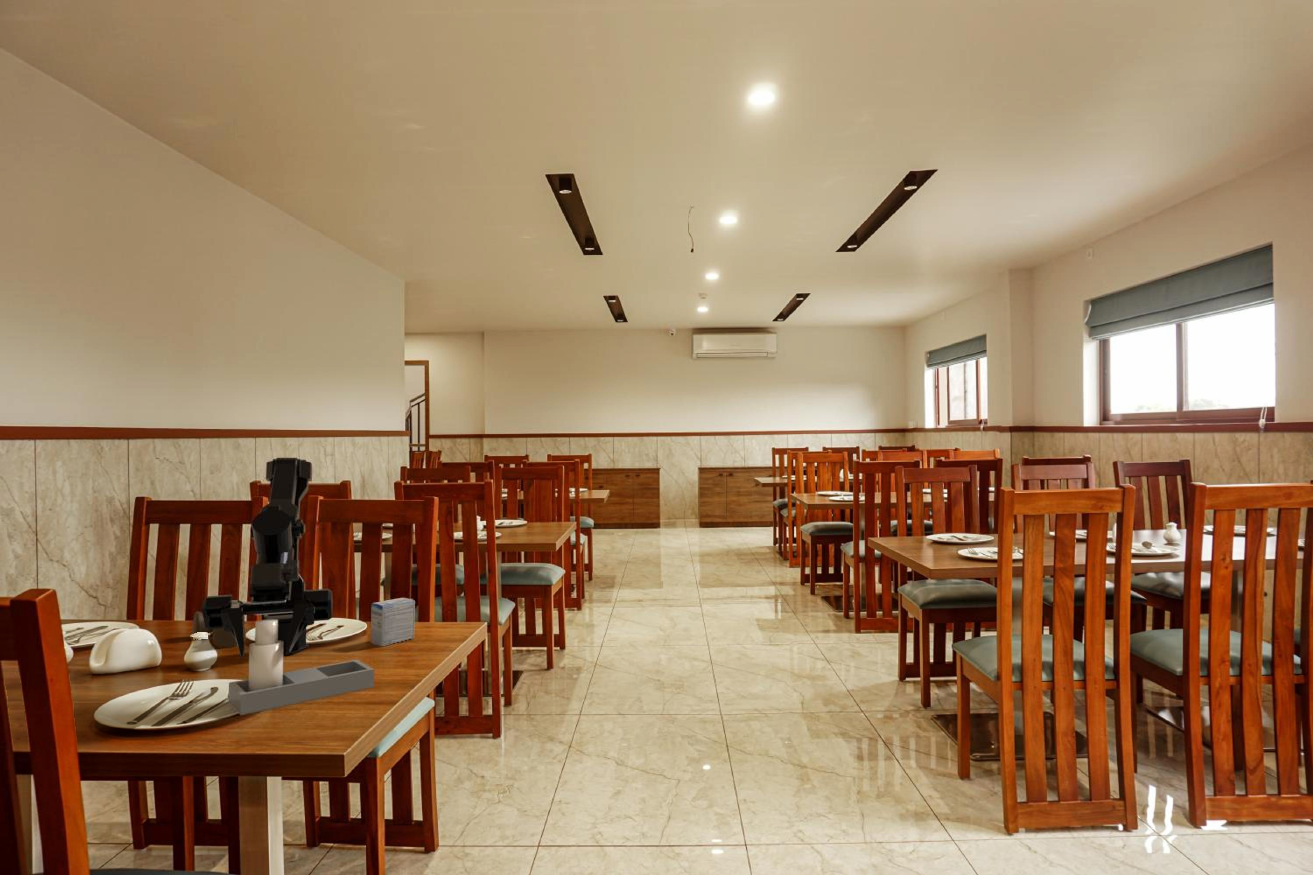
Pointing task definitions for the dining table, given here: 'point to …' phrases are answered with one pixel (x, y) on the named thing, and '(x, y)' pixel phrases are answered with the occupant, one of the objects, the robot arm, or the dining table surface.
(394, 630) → the medicine box
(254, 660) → the white stepped cylinder
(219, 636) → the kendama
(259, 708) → the caddy
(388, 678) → the dining table surface
